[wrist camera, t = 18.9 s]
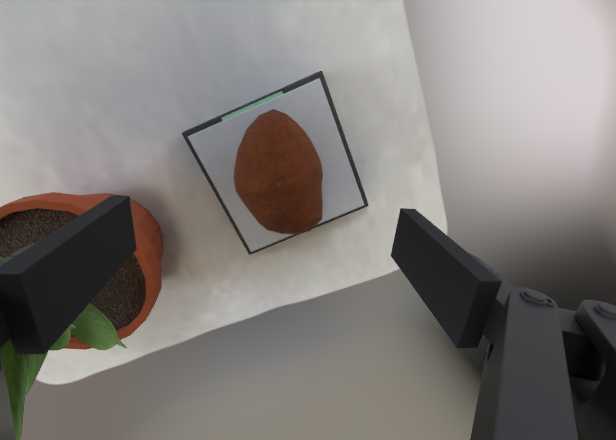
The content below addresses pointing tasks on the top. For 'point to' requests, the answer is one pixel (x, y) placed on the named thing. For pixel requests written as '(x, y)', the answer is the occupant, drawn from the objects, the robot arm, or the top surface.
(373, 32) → the top surface
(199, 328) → the top surface
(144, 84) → the top surface
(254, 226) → the scale
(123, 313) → the potted plant
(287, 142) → the potato
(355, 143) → the top surface
